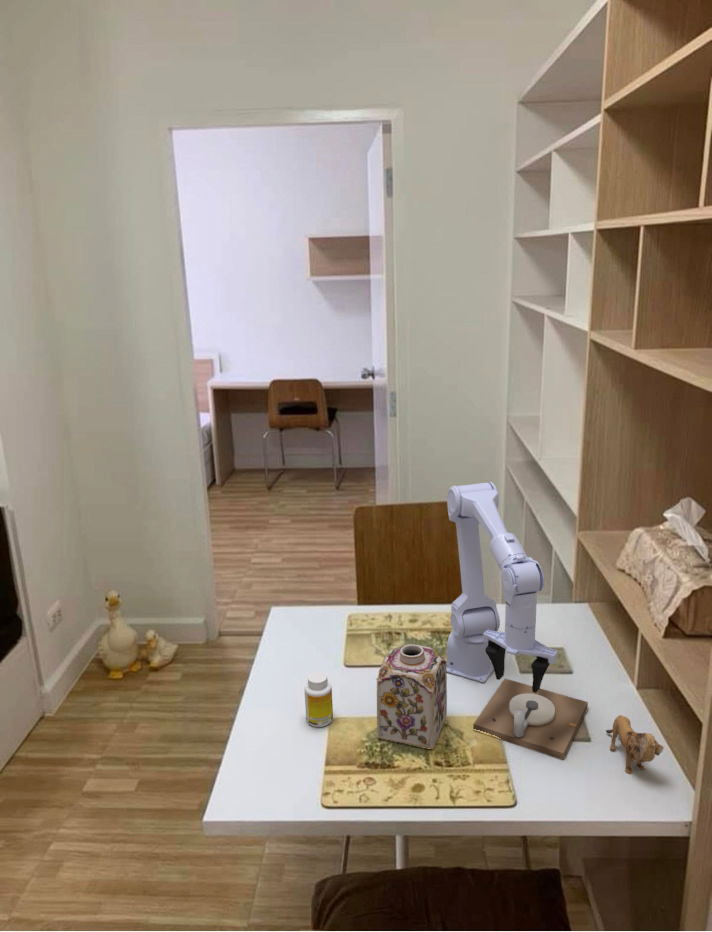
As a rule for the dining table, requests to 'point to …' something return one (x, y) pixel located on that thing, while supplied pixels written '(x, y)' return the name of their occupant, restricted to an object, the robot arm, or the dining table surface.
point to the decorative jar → (412, 695)
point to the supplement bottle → (318, 700)
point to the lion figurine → (634, 743)
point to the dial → (530, 711)
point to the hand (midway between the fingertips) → (517, 683)
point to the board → (537, 738)
